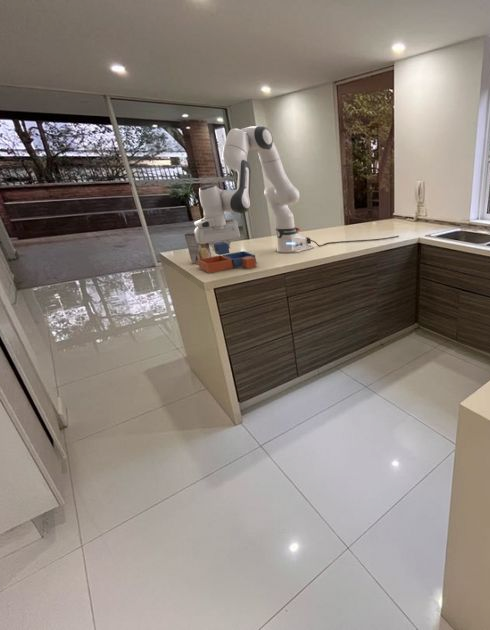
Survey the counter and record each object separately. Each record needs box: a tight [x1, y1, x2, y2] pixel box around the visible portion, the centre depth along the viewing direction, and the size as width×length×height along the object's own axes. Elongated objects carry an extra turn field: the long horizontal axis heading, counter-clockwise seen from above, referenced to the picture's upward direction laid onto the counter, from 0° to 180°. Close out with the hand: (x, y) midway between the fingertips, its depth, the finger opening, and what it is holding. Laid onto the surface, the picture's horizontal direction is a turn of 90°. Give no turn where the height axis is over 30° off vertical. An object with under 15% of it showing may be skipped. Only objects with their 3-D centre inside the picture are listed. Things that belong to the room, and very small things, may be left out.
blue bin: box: [221, 250, 257, 269], centre depth 186 cm, size 12×13×5 cm
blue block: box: [212, 241, 231, 256], centre depth 167 cm, size 5×5×5 cm
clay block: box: [242, 256, 257, 270], centre depth 179 cm, size 5×5×5 cm
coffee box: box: [184, 231, 212, 265], centre depth 187 cm, size 9×6×16 cm
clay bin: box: [198, 255, 234, 274], centre depth 177 cm, size 12×13×5 cm
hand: (221, 249), depth 167 cm, fingers closed on blue block, 5 cm apart
